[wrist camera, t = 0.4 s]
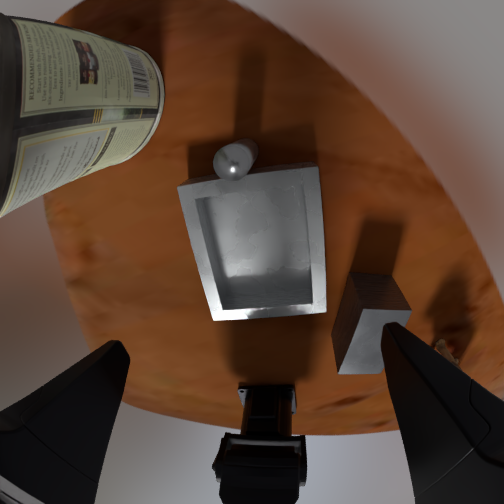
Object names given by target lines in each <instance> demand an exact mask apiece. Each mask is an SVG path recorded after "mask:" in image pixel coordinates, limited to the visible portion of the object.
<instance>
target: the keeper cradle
mask: <svg viewBox="0 0 504 504" xmlns="http://www.w3.org/2000/svg"><path fill="white" fill-rule="evenodd" d="M258 154H259V148H258V145H257V144H256V142H255V141H253V140H251V139H248V138H243V139H240V140H238V141H235V142H233V143H231V144H229V145H227V146H224V147H222V148H221V149H219V150H218V151H217V153H216V154H215V156H214V160H213V167H214V170H215V172H216V173H217V174H214V175H208V176H202V177H197V178H192V179H188V180H186V181H185V182H183V183H182V184H180V185H179V186H178V187H177V189H178V193H179V197H180V202H181V206H182V210H183V214H184V218H185V222H186V226H187V229H188V233H189V237H190V241H191V245H192V248H193V252H194V256H195V259H196V263H197V266H198V270H199V274H200V277H201V280H202V284H203V287H204V291H205V294H206V297H207V301H208V304H209V307H210V311H211V314H212V317H213V320H235V319H253V318H267V317H280V316H292V315H303V314H313V313H322V312H326V271H325V247H324V230H323V215H322V202H321V190H320V180H319V170H318V166H317V165H316V164H315V163H314V161H311V162H301V163H291V164H283V165H274V166H266V167H259V168H252V169H250V168H251V166H252V165H253V163H254V162H255V160H256V158H257V157H258Z"/></svg>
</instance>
